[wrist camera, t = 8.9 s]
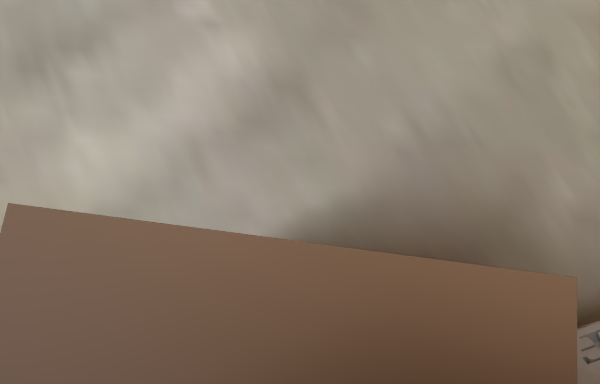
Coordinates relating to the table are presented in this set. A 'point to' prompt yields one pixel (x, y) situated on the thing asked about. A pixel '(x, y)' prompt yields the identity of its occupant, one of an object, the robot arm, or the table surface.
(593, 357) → the die
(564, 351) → the walnut block
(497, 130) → the table surface
